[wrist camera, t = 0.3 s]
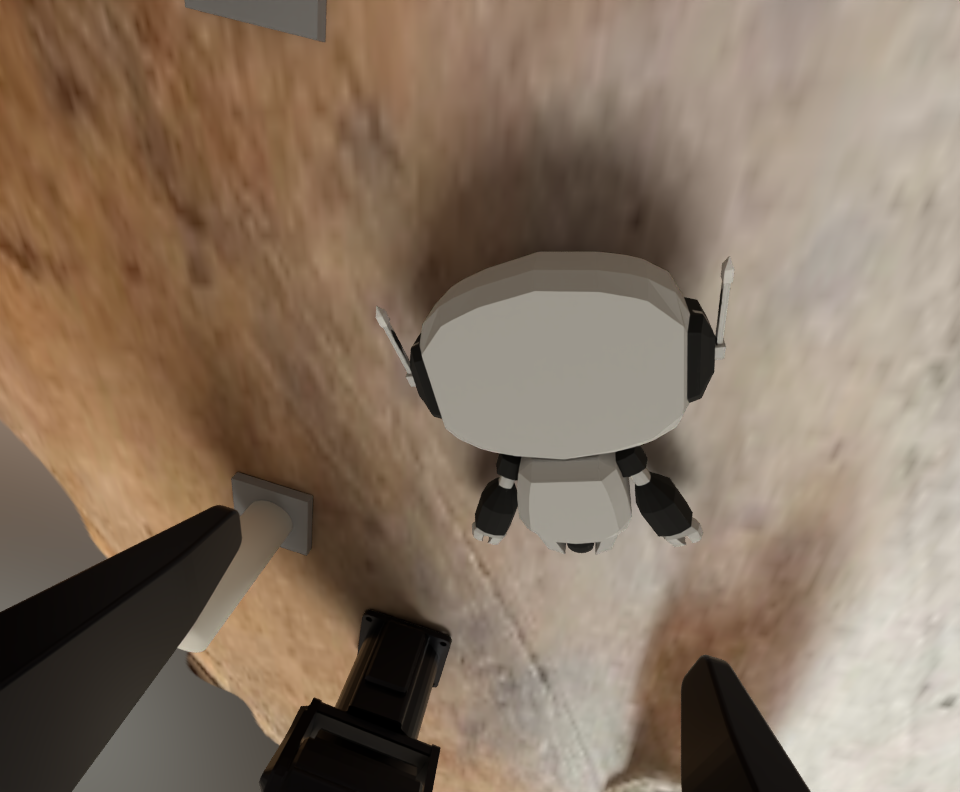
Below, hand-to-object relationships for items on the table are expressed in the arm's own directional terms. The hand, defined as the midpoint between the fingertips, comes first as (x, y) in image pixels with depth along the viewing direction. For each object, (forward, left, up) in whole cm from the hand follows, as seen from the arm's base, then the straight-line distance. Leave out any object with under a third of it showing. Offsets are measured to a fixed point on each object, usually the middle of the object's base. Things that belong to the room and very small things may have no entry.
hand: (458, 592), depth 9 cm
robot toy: (-4, -2, -15) cm, 15 cm away
